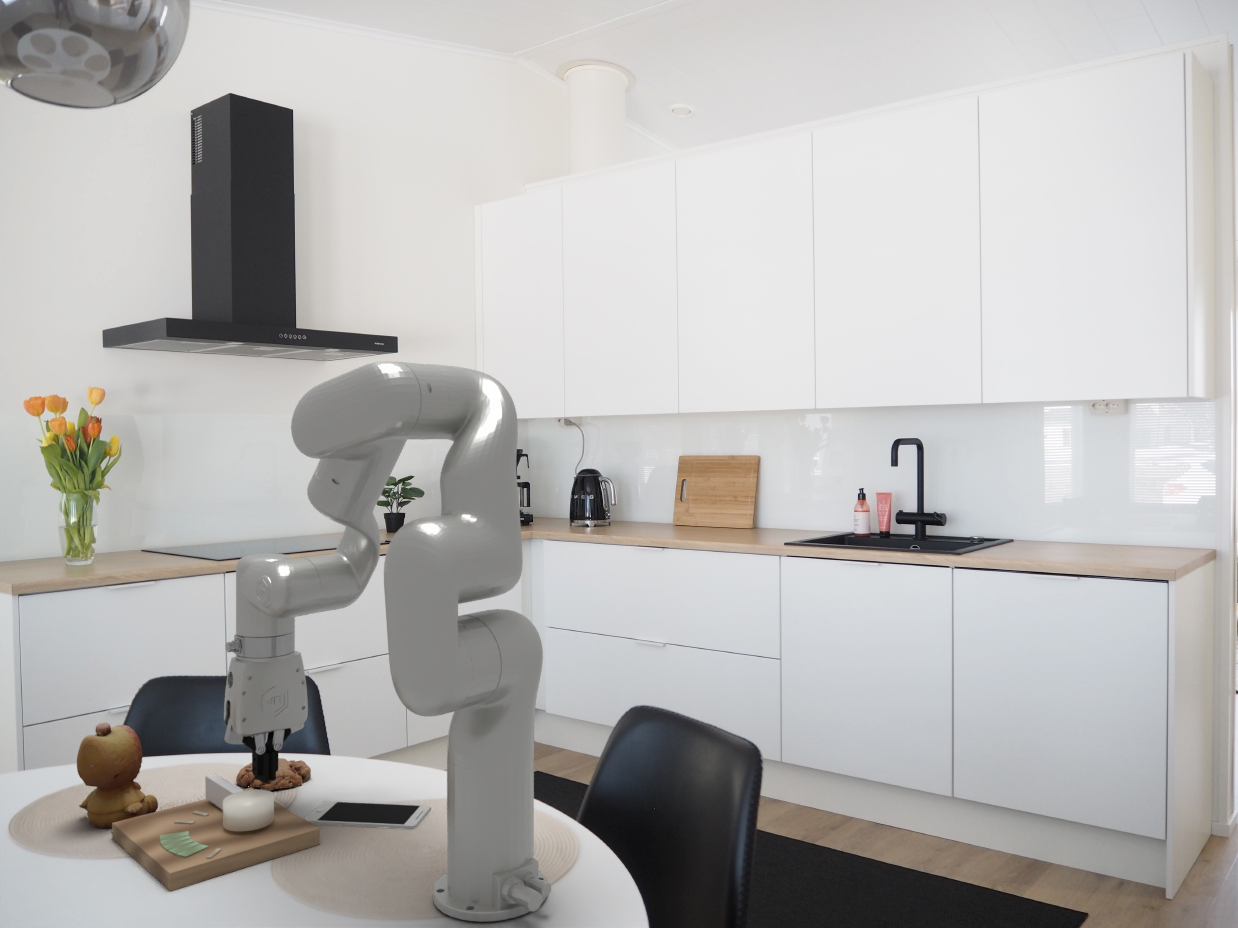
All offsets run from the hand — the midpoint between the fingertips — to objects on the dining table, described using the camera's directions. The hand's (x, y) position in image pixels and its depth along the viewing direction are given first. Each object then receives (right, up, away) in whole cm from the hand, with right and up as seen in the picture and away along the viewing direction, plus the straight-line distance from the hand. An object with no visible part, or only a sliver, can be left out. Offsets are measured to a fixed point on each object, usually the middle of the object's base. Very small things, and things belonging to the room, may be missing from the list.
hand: (265, 778), depth 131 cm
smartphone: (+14, -5, -2) cm, 15 cm away
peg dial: (-2, -2, -7) cm, 7 cm away
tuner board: (-3, -5, -10) cm, 11 cm away
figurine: (-19, -5, -3) cm, 20 cm away
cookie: (-3, -5, +12) cm, 13 cm away
